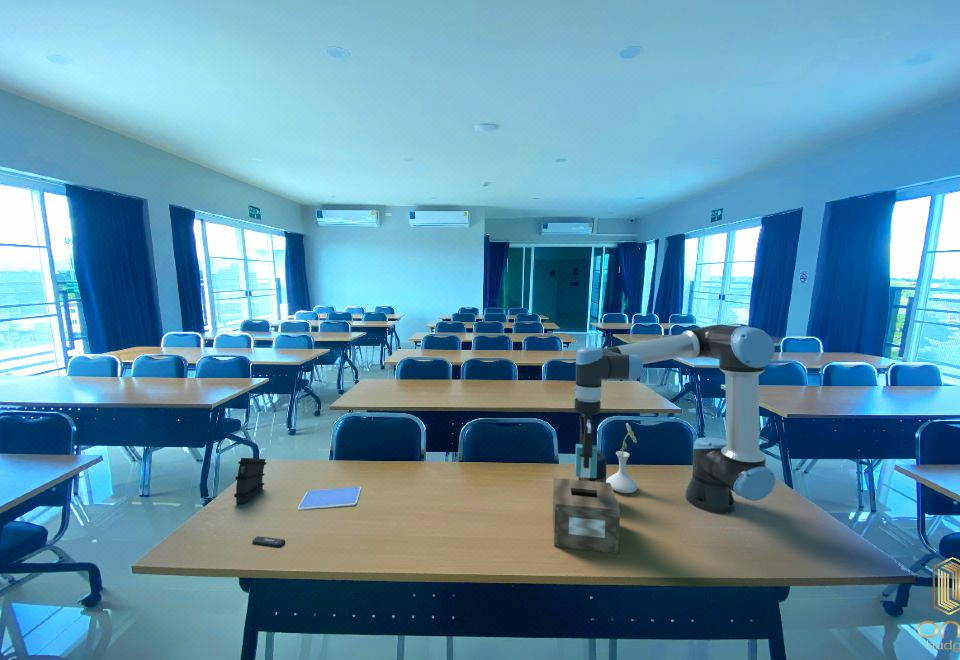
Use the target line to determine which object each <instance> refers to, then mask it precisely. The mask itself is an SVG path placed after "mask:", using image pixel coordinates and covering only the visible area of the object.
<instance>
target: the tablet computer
mask: <svg viewBox="0 0 960 660" xmlns="http://www.w3.org/2000/svg"><path fill="white" fill-rule="evenodd" d="M361 490H362V487H361V486H353V487H352V486H351V487H339V488H328V489H327V488H326V489H323V488H322V489H313V490H312V489H311V490H310V489H309V490H307V491H306V493H305V495H304V496H303V498H302V500H301V501H300V503H299V505H298V507H297V511H303V510H304V511H305V510H315V509H324V508H325V509H328V508H340V507H351V506H352V507H353V506H356V505H357V504H358V501H359V497H360V494H361Z"/></svg>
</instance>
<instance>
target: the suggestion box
mask: <svg viewBox="0 0 960 660" xmlns="http://www.w3.org/2000/svg"><path fill="white" fill-rule="evenodd" d="M552 489H553V497H552V499H553V500H552V528H553V531H552V532H553V546H554V547H558V548H568V549H577V550H585V551H591V550H592V551H594V552H600V551H601V552H602V553H609V552H610V554H616V555H617V554H619V545H620V526H621V523H620V521H621V509H620V506H619V503H618V500H617V498H616V494H615V492H614V490H613V489H612V486H611V484H610V483H605V482H594V481H582V480H579V479H571V478H570V479H568V478H558V477H553V488H552Z"/></svg>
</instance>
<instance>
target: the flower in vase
mask: <svg viewBox="0 0 960 660" xmlns="http://www.w3.org/2000/svg"><path fill="white" fill-rule="evenodd" d="M625 426H626V429H627V431H628V432H627V434H626V435H625V437H624V439H623V442H622V448H620V451H616V452H615V455H617V458H618V463H619V464H618V471H616V473H614V474H612V475H610V476H609V477H606V483H610V484H611V486H612V489H613V491H615V492H617V493H621V494H622V493H623V494H630V493H634V492H636V491H637V490H638V484H637V482H636V481H635V480H634V479H633V478H632V477H631V476H629V474H628V473H627V471H626V465H627V461H628V459H629V457H630V456H631V454H630V452H627V451H624V450H627V449H628V448H627V447H628V444H627V443H626V439H627V437H628V436H630V438H631V440H632V441H633V443H635V444H636V443H637V442H638V441H637V438H636V436H635V435H634V434H635V433H634V431H632V427H631V425H630V424H629V423H628V422H627V423H625ZM621 450H622V451H621Z"/></svg>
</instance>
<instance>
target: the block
mask: <svg viewBox="0 0 960 660" xmlns="http://www.w3.org/2000/svg"><path fill="white" fill-rule="evenodd" d="M597 452H598V447H597V444H593V447H592V458H591V468H590V478H596V475H597ZM580 454H582V444H579V443H576V444H575V463H574V465H575V466H574V473H575V477H578V478H579V477H581V457H580Z"/></svg>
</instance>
